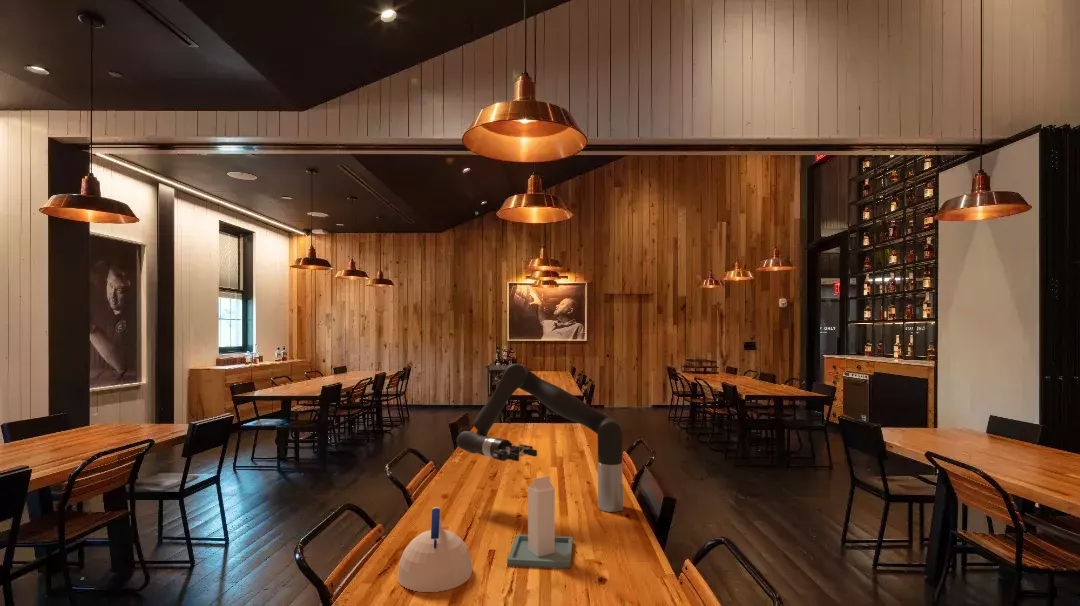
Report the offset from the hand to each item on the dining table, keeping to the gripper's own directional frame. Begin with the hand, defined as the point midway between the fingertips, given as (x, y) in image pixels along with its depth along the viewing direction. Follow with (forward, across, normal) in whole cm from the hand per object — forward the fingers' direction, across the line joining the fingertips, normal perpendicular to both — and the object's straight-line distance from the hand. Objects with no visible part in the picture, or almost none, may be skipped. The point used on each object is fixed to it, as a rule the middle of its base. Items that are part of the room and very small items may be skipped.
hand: (527, 455), depth 177 cm
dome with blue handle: (+6, -42, +24) cm, 48 cm away
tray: (+18, -11, +24) cm, 32 cm away
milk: (+18, -11, +24) cm, 32 cm away
